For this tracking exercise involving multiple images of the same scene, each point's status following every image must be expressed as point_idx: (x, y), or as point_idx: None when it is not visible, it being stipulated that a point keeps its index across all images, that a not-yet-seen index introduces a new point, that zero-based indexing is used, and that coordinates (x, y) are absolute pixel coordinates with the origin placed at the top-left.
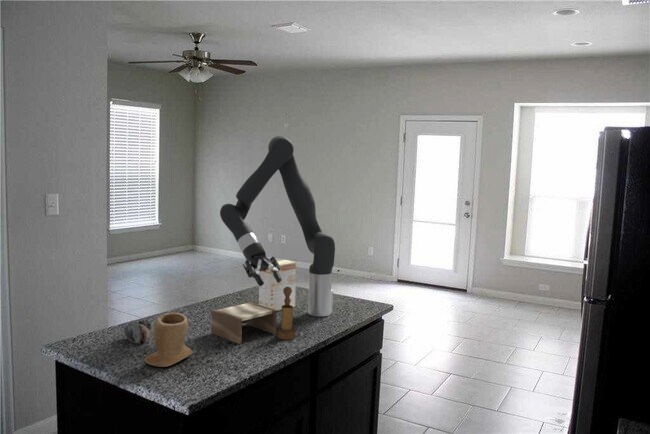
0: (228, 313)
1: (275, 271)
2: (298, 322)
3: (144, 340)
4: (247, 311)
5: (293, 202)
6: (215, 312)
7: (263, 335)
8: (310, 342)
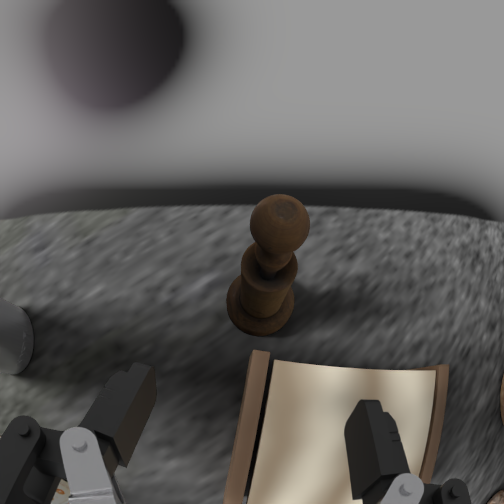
0: (421, 455)
1: (104, 451)
2: (103, 358)
3: (500, 490)
4: None
5: None
6: None
7: None
8: None
